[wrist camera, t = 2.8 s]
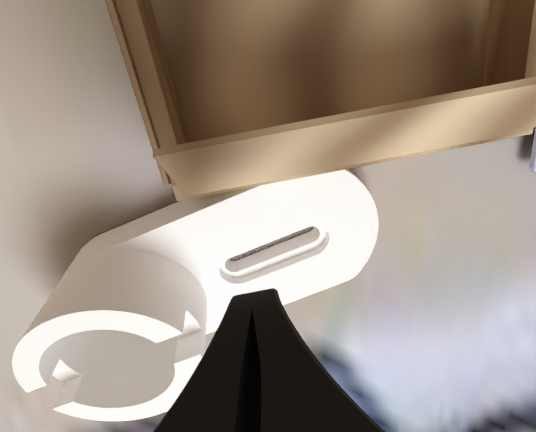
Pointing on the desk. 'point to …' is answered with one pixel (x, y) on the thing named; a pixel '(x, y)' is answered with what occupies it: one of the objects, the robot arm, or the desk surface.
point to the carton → (309, 60)
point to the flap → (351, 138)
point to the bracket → (186, 288)
